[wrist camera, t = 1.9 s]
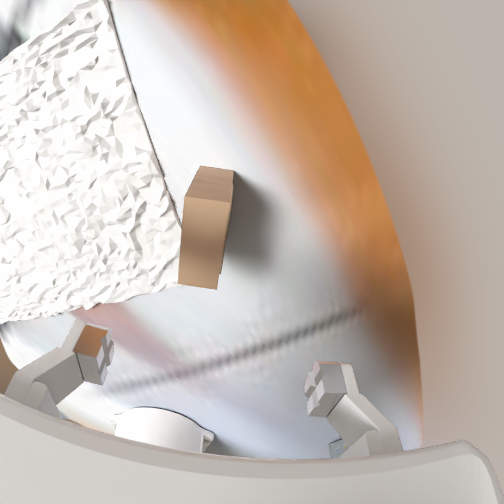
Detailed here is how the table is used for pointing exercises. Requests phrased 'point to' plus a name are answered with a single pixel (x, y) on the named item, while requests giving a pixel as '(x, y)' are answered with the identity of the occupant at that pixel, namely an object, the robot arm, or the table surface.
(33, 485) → the robot arm
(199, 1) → the table surface
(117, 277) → the carpet tile
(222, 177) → the brown rectangular block
